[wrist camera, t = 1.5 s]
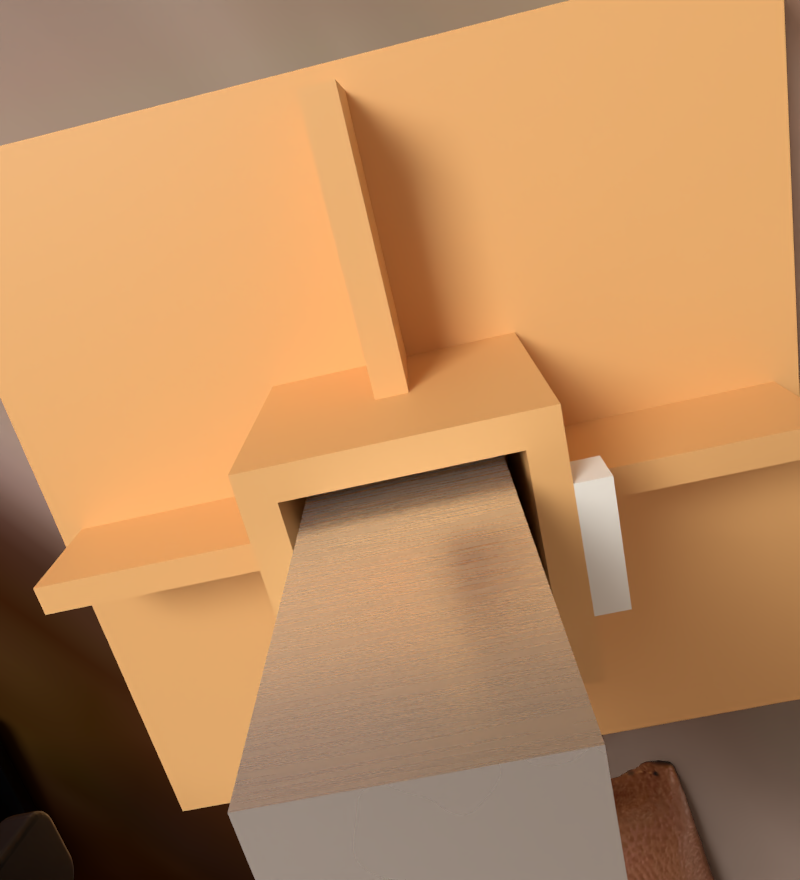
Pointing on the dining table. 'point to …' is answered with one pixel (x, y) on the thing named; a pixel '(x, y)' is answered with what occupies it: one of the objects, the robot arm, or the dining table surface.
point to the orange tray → (426, 347)
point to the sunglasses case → (657, 826)
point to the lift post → (423, 699)
